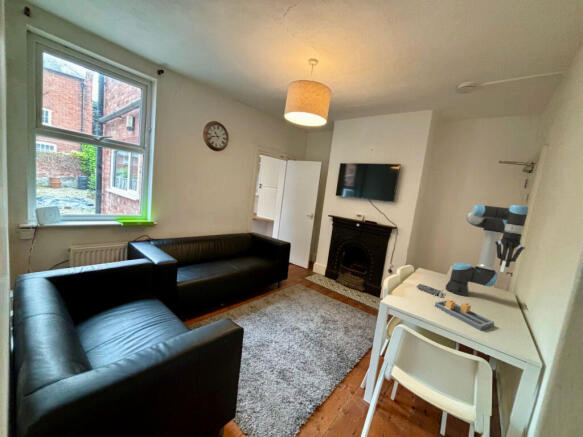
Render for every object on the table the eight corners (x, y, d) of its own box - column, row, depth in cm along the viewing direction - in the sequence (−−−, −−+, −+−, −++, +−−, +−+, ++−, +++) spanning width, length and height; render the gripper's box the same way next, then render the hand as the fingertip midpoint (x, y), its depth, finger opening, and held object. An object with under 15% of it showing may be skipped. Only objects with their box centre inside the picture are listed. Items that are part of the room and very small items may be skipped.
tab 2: (463, 309, 146) (465, 301, 145) (469, 311, 143) (471, 304, 142) (460, 310, 144) (462, 302, 143) (465, 312, 141) (467, 305, 141)
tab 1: (448, 306, 148) (450, 298, 147) (453, 308, 145) (455, 301, 144) (445, 307, 146) (446, 299, 145) (450, 309, 143) (452, 302, 142)
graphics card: (444, 289, 174) (441, 293, 165) (443, 294, 174) (440, 298, 166) (420, 282, 186) (416, 284, 177) (419, 286, 186) (415, 289, 177)
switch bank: (447, 304, 156) (448, 299, 156) (493, 326, 133) (494, 321, 133) (434, 306, 150) (435, 302, 150) (480, 330, 127) (481, 325, 127)
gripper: (495, 229, 134) (486, 267, 137) (525, 234, 122) (514, 276, 125) (501, 229, 137) (492, 267, 140) (531, 235, 126) (520, 275, 129)
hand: (502, 271), depth 133 cm, fingers closed
